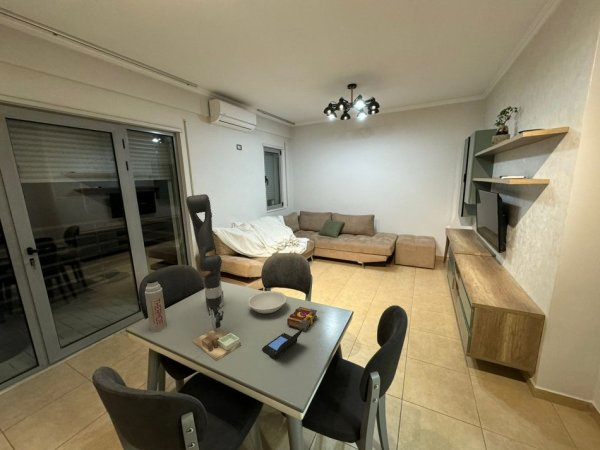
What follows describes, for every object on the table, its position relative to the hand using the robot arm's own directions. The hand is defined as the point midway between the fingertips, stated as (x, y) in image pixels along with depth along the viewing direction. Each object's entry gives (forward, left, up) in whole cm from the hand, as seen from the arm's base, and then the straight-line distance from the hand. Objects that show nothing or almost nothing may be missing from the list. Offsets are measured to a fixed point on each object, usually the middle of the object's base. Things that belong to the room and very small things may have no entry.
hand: (216, 325), depth 124 cm
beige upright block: (+7, +6, -4) cm, 10 cm away
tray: (+1, +13, -4) cm, 13 cm away
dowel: (0, 0, -2) cm, 2 cm away
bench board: (+4, +6, -5) cm, 9 cm away
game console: (-13, +34, -6) cm, 37 cm away
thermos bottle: (+16, -31, -5) cm, 36 cm away
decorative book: (-37, +27, -6) cm, 46 cm away
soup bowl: (-34, +2, -5) cm, 34 cm away
